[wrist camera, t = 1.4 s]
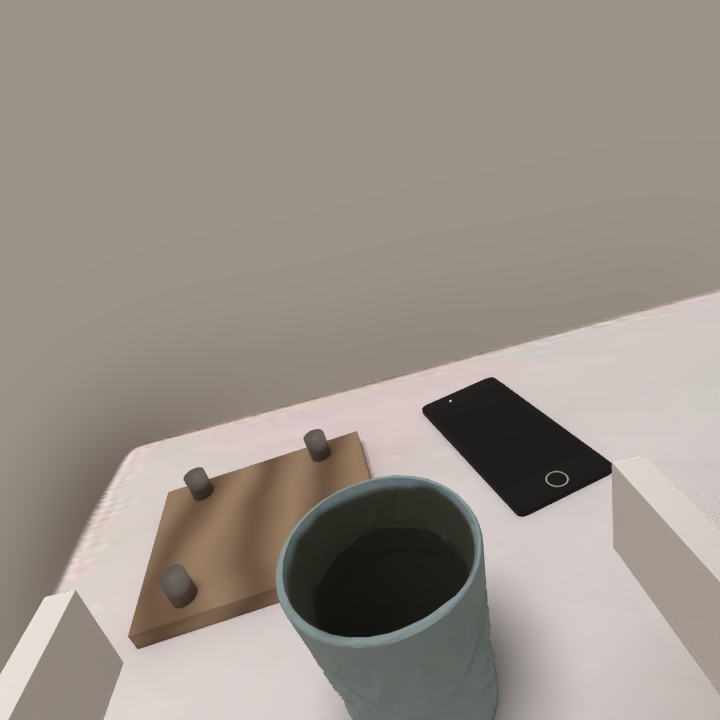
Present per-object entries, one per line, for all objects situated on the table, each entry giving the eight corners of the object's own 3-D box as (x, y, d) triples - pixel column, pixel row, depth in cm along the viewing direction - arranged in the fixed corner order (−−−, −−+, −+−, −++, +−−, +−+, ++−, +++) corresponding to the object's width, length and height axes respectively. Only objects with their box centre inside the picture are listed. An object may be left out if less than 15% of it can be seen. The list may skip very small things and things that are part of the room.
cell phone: (521, 522, 39) (519, 514, 38) (421, 414, 55) (420, 407, 54) (616, 474, 40) (616, 465, 40) (493, 382, 56) (491, 375, 56)
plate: (360, 442, 52) (350, 412, 51) (393, 564, 38) (380, 527, 36) (174, 503, 52) (157, 474, 50) (137, 648, 38) (112, 615, 36)
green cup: (312, 737, 29) (233, 604, 24) (388, 589, 36) (341, 461, 31) (484, 829, 24) (432, 684, 18) (533, 633, 31) (507, 487, 25)
